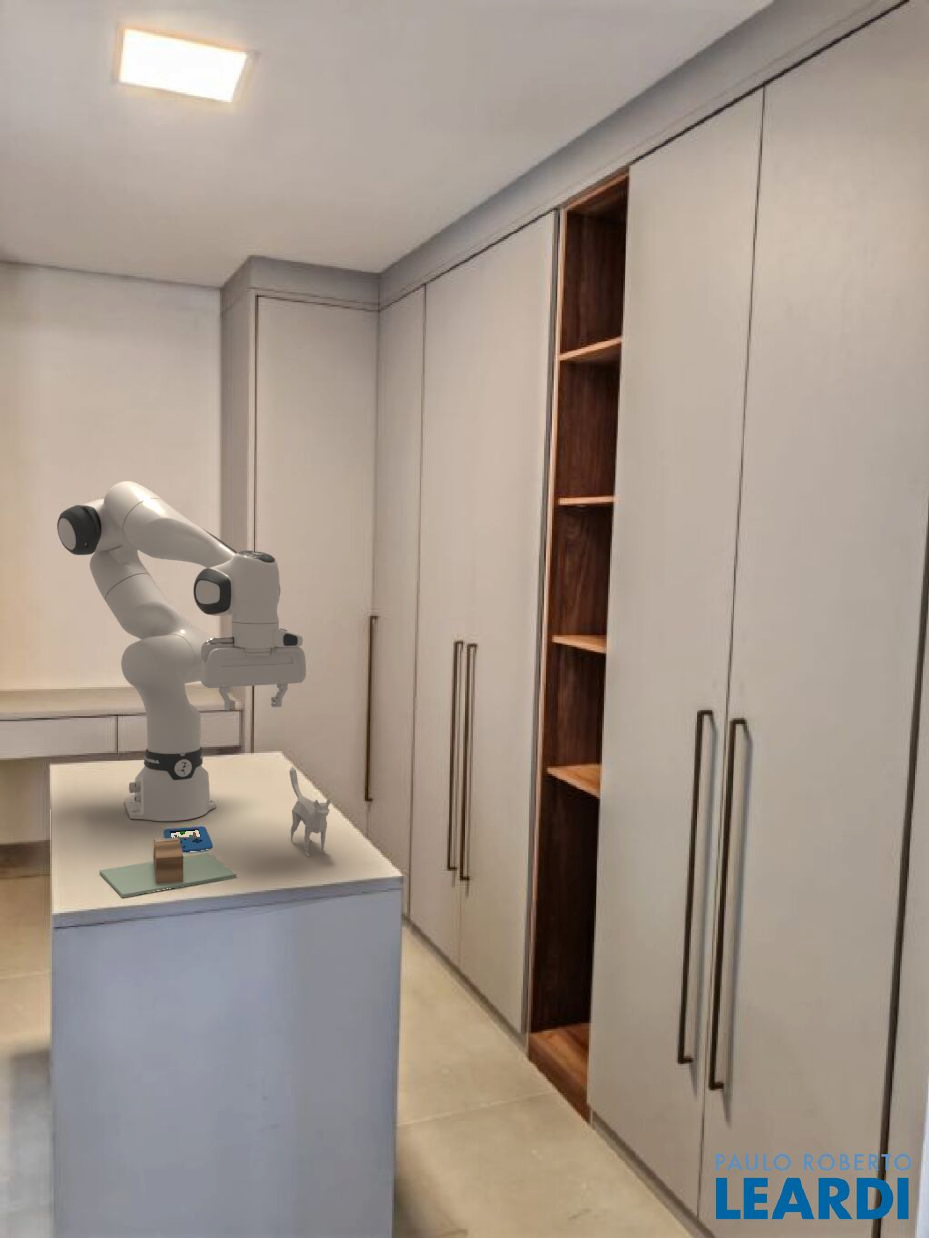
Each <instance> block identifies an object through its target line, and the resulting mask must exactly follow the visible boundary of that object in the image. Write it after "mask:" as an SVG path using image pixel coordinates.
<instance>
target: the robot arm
mask: <svg viewBox="0 0 929 1238" xmlns="http://www.w3.org/2000/svg"><path fill="white" fill-rule="evenodd" d="M56 525H57V526H56V528H57V534H58V537H59V540H60V541H61V542H60V543H61V544H62V546H63V547H64V549H66V550H67V551H68V552H69V553H71V554H72V555H74V556H86V555H87V556H88V555H92V554H93V555H92V556H91V557H90V560H89V568H90V569H89V570H90V572H91V575H92V578H93V581H94V582H95V585H96V587H97V589H98V591H99V593H100V595H101V597H102V598H103V599H104V602H105V603H106V605H107V606H108V607H109V609H110V611H111V612H112V614H113V616H114V617H115V618H116V620H117V622H118V623H119V625H120V626H121V628H122V629H123V630H124V631H125V632H126V633H128V635H131V636H133V637H136V638H137V639H139V640H138V641H135V642H134V643H131V644H130V645H128V646H127V647H126V649H125V650H124V651H123V654H122V656H121V661H120V662H121V664H120V665H121V671H122V674H123V676H124V678H125V681H126V682H127V683H128V684H130V685H131V686H132V687H134V689H135V690H136V691H137V692H138V694H139V696H140V698H141V700H142V704H143V706H144V710H145V715H146V728H147V729H146V731H147V732H146V733H147V735H146V738H147V740H146V742H147V745H146V746H147V748H146V749H145V753H144V756H143V759H144V761H143V765H144V767H143V768H142V769H141V771H140V772H139V773H138V774H137V775H136V777H135V779H134V781H132V782H129V784H128V791H129V793H130V794H133V795H129V796H126V797H124V800H123V803H124V805H125V809H126V811H127V814H128V817H129V819H132V820H148V821H149V820H150V821H157V822H175V821H176V822H177V821H186V820H192V819H195V818H199V817H202V816H205V815H206V814H207V813H208V812H210V810H214V809H216V808H217V802H215V801H212V800H211V795H210V790H211V789H210V775H209V772H208V771H207V770H206V769H205V768H204V767H203V766H202V765H203V764H204V762H203V760H204V759H203V758H204V752H203V747H202V746H201V731H202V729H201V721H202V718H201V717H202V716H201V713H200V711H199V709H198V708H197V707H196V706H194V705H193V704H191V702H190V701H189V699H188V697H187V692H186V684H191V683H196V682H200V683H201V684H202V685H203V686H204V687H206V688H208V689H214V688H216V689H218V692H219V694H220V696H221V698H222V700H223V701H224V705H223V706H224V707H223V708H224V710H225V711H235V710H236V706H235V705H236V701H235V700H234V699H231V698H230V696H229V694H228V693H230V692H231V688H233V687H234V688H236V687H252V686H254V687H255V686H267V685H268V686H270V685H271V686H272V685H276V688H277V689H278V690H277V692H276V694H275V696H271V697H270V698H271V699H270V700H271V703H270V705H271V707H272V708H281V707H282V705H283V703H282V702H283V698H284V696H285V695H286V693H287V691H288V688H289V685H288V684H302V683H303V681H305V679H306V676H307V667H306V666H307V665H306V664H307V663H306V662H307V661H306V655H305V651H304V650H303V648H302V647H301V646H302V645H303V641H304V639H303V636H301V635H300V634H297V633H294V632H291V631H288V630H287V629H285V628H284V629H283V628H280V623H279V622H280V618H279V616H278V615H279V614H278V605H279V602H280V595H281V585H280V584H281V583H280V573H279V572H280V571H279V566H278V562H277V560H276V558H275V557H274V556H273V555H271V554H269V553H266V552H262V551H257V550H256V551H255V550H241V551H239V552H238V551H237V550H235V549H234V548H232V547H231V546H230V545H228V544H227V543H225V542H224V541H222V540H221V539H219V538H218V537H217V536H215V535H213V534H212V533H210V532H209V531H207V530H205V529H204V528H202V527H200V525H197V524H196V523H194V522H193V521H192V520H190V519H188V518H187V517H186V516H184V515H183V514H181V513H180V512H178V511H177V510H176V509H175V508H173V507H172V506H171V505H170V504H169V503H167V502H166V501H165V500H164V499H163V498H161V496H159V495H158V494H156V493H155V492H154V491H151V490H150V489H148V488H147V487H146V486H143V485H141V484H140V483H137V482H134V481H130V480H123V481H120V482H117V483H116V484H114V485H112V486H111V487H110V488H109V489H108V490H107V492H106V493H105V496H104V497H101V498H99V499H95V500H92V501H88V502H86V503H83V504H77V505H75V504H74V505H73V506H71V507H68V508H67V509H65V510H63V511H62V512H61V513H60V515H59V517H58V519H57V524H56ZM138 551H140V552H141V553H143V554H144V555H147V556H149V557H150V558H154V559H158V560H167V561H169V560H170V561H178V562H179V561H180V562H186V563H187V562H188V563H191V564H192V563H193V564H196V565H198V566H199V565H200V566H203V567H204V568H203V569H202V570H201V571H200V572H199V573H198V575H196V578H195V580H194V583H193V588H192V589H193V598H194V602H195V604H196V606H197V608H199V610H200V611H201V612H202V613H204V614H205V615H208V616H213V617H214V616H215V617H218V616H219V617H221V616H231V628H230V629H231V632H230V634H231V635H230V636H231V637H219V638H218V637H215V636H213V635H212V634H209V633H208V632H205V631H203V629H202V630H201V629H200V628H198V627H197V626H196V625H194V624H193V623H192V622H190V620H188V619H187V618H186V617H185V616H183V615H182V613H180V612H179V610H177V609H176V608H175V607H174V606H173V605H172V603H170V602H169V600H168V599H167V598H166V596H165V595H164V593H163V591H162V590H161V589H160V588H159V585H157V582H156V581H155V580H154V579H153V577H152V575H151V574H150V573H149V572H150V571H148V569H147V568H146V567H145V565H144V564H143V562H142V561H141V559H140V557H139V552H138Z"/></svg>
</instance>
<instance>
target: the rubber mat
mask: <svg viewBox="0 0 929 1238" xmlns="http://www.w3.org/2000/svg"><path fill="white" fill-rule="evenodd" d="M99 874H100V876H101V877H102V878H103V879H104V880H105V881H106V882H107V883H108V884H109V886H111V887H112V888H113V890H114V891H115V892H116V893H117V892H118V893H117V894H118V895H119V896H120V897H121V898H122V897H125V898H129V897H135V896H136V895H137V896H140V895H139V894H142V895H145V894H144V893H148V892H153V891H157V890H163V889H167V888H168V889H169V888H175V889H180V888H179V887H181V888H184V887H183V886H186V887H191V886H190V885H192V886H197V885H202V883H203V884H207V882H208V883H212V882H213V881H214V882H219V881H225V880H229V878H230V879H235V878H237V873H236V872H234V871H233V870H232V869H230V868H229V867H227V866H226V865H225V864H223V862H221V861H220V860H218V859H217V858H215V856H213V855H212V854H210V853H209V852H203V853H202V852H201V853H197V854H190V855H186V856H184V855H183V882H171V883H159V884H156V878H155V871H154V860H153V861H149V862H141V863H135V864H129V865H123V866H118V867H117V866H116V867H112V868H105V869H99ZM224 879H225V880H224ZM196 884H197V885H196ZM153 893H154V892H153ZM148 894H149V893H148Z"/></svg>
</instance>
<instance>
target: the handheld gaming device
mask: <svg viewBox="0 0 929 1238" xmlns="http://www.w3.org/2000/svg"><path fill="white" fill-rule="evenodd" d="M195 830H198V831H199V834H200V837H197V836H196V833H195V832H193V835H189V837H179V836H178V837H177V835H174V836H175V838H179V839H180V844H181V848H182V852H186V853H191V852H190V851H198V852H202V851H201V850H206V849H210V850H211V848H212V847H213V848H214V845H213V842H212V841H213V840H212V839H211V837H210V835H209V833H208V831H207V828H206V827H205V826H204V825H203V826H202V825H201V826H189V827H178V828H176V827H175V828H166V829H163V835H164V839H165V838H172V837H171V833H176V832H180V834H181V835H183V834H185V832H186V831H195ZM173 838H174V837H173ZM213 848H212V849H213ZM206 851H207V850H206Z"/></svg>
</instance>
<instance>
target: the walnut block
mask: <svg viewBox="0 0 929 1238" xmlns="http://www.w3.org/2000/svg"><path fill="white" fill-rule="evenodd" d="M183 857H184V853H182V848H181V844H180V839H179V838H165V837H164V838H154V839H153V861H154V871H155V878H156V884H159V883H171V882H183Z"/></svg>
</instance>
